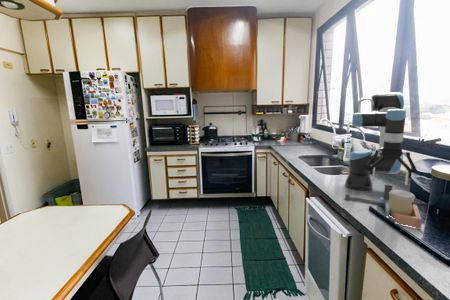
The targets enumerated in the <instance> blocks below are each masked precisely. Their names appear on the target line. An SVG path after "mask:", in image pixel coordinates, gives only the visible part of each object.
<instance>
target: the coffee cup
mask: <svg viewBox="0 0 450 300" xmlns="http://www.w3.org/2000/svg"><path fill="white" fill-rule="evenodd" d="M415 199H416V196H415V194H414V193H412V192H410V191H408V190H404V189H403V190H402V189H392V190H391V191H390V192H389V208H390V214H389V215H390V216H392V217H393V218H395V213H396V214H402V215H407V216H412V214H411V213H412V208H413V204H414V202H415ZM390 216H389V217H390Z"/></svg>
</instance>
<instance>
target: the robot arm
mask: <svg viewBox="0 0 450 300" xmlns="http://www.w3.org/2000/svg"><path fill="white" fill-rule="evenodd" d="M404 99H405V98H404V95H403V93H402V92H400V91H392V92H377V93H376V92H373V93H370V94H367V95H365V96H363V97H361V98H360V99H359V100H358V102H357V103H356V108H357V112H355V113H353V114H352V120H351V121H352V122H351V123H352V124H351V125H352V126H353V127H356V128H357V127H359V128H361V127H363V128H365V127H366V128H368V127H369V128H370V127H374V128H380V129H379V145H378V146H379V148H378V149H375V151H374V152H373V150H371V149H359V150H357V149H356V150H354V151H351V152H350V155H349V168H348V169H349V170H348V175H347V177H346V179H345V183H344V185H345V187H346V188H350V189H353V190H357V191H369V190H370V191H371V190H372V189H373V186H374V185H373V182H375V174H376V173H382V174H394V175H397V174H399V173H400V172H401V168H402V166H403V167H404V168H405V169H406V171H405V179H404V180H405V181H404V185H405V186H408V182H409V180H410V179H412V173H414V172H417V171H418V169H417V167H416V166H415V164H414V162H413V160H412V158H411V152H410V151H408V150H407V151H403V145H404V144H403V142H404V136H405V135H404V133H405V124H406V118H407V115H406V114H407V111H406V110H405V109H404V108H405V100H404ZM403 156H404V157H406V158H407V160H408V162H409V164H410V166H409V165H408V164H407V163H406V161H404V159H403V158H404V157H403ZM371 175H372V178H371Z"/></svg>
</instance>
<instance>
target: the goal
mask: <svg viewBox="0 0 450 300" xmlns="http://www.w3.org/2000/svg"><path fill="white" fill-rule="evenodd" d="M395 222H397V223H399V224H403V225H408V226H412V227H416V228H420V229H421V227H422V217H421V214H420V211H419V208H418V205H417V204H414V203H413V208H412V213H411V216H407V215H402V214H396V213H395V220H394V223H395Z"/></svg>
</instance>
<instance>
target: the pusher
mask: <svg viewBox="0 0 450 300" xmlns="http://www.w3.org/2000/svg"><path fill="white" fill-rule="evenodd" d="M393 187H394V186H393V183H388V182H387V183H386V182H384V192H383V197H380V198H379V202H380V203H385V206H384V208H385V217H386V216H388V217H389V218H390V216H389V214H390V208H389V192H390V191H391V190H393Z"/></svg>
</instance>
